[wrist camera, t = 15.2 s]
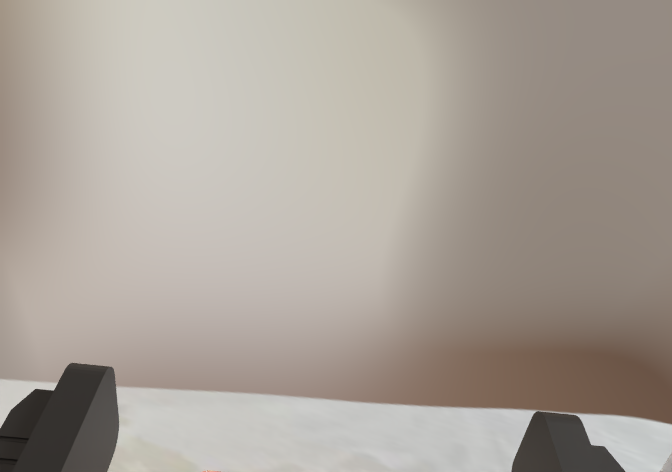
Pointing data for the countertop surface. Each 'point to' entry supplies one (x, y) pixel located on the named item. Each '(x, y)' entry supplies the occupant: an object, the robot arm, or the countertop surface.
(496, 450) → the countertop surface
